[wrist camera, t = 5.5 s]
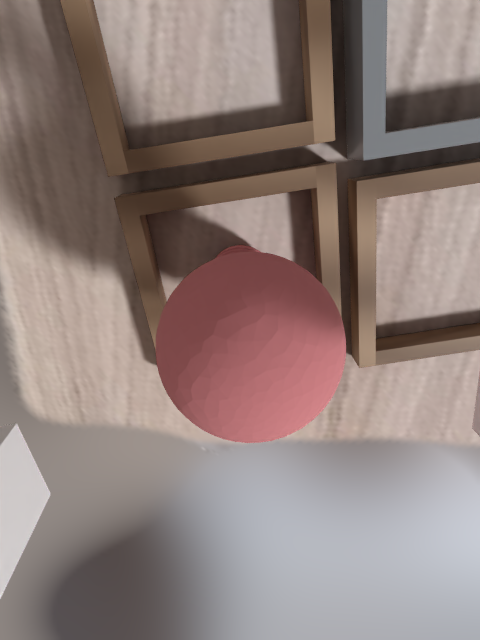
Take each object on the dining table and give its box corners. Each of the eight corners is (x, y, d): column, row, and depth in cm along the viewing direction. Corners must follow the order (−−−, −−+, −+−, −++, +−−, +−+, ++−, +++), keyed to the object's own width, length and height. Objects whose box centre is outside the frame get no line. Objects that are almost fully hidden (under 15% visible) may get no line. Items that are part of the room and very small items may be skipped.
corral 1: (38, -119, 15) (20, -145, 14) (313, -166, 15) (323, -197, 14) (115, 174, 20) (108, 176, 18) (327, 141, 20) (335, 140, 18)
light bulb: (225, 351, 24) (231, 518, 13) (152, 263, 22) (86, 381, 11) (321, 289, 23) (414, 420, 12) (255, 187, 20) (298, 236, 9)
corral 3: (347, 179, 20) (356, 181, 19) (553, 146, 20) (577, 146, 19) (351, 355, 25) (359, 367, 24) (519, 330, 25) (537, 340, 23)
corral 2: (121, 194, 20) (114, 198, 19) (327, 161, 20) (336, 163, 19) (167, 370, 25) (164, 383, 23) (336, 344, 25) (342, 356, 23)
